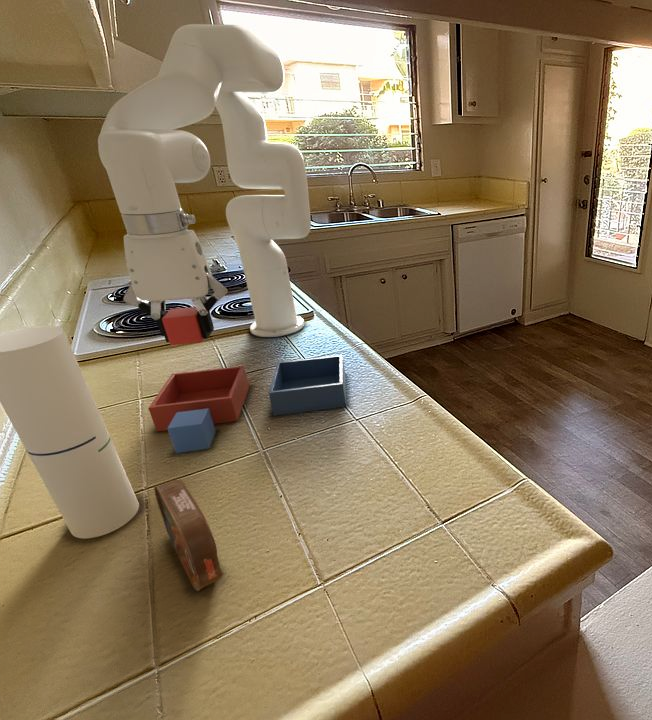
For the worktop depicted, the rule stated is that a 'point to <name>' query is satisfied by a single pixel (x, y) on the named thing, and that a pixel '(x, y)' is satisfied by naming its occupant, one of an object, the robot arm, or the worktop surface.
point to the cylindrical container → (63, 430)
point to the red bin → (201, 395)
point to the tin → (189, 533)
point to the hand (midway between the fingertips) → (189, 336)
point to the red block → (182, 326)
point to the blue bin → (308, 385)
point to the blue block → (191, 430)
